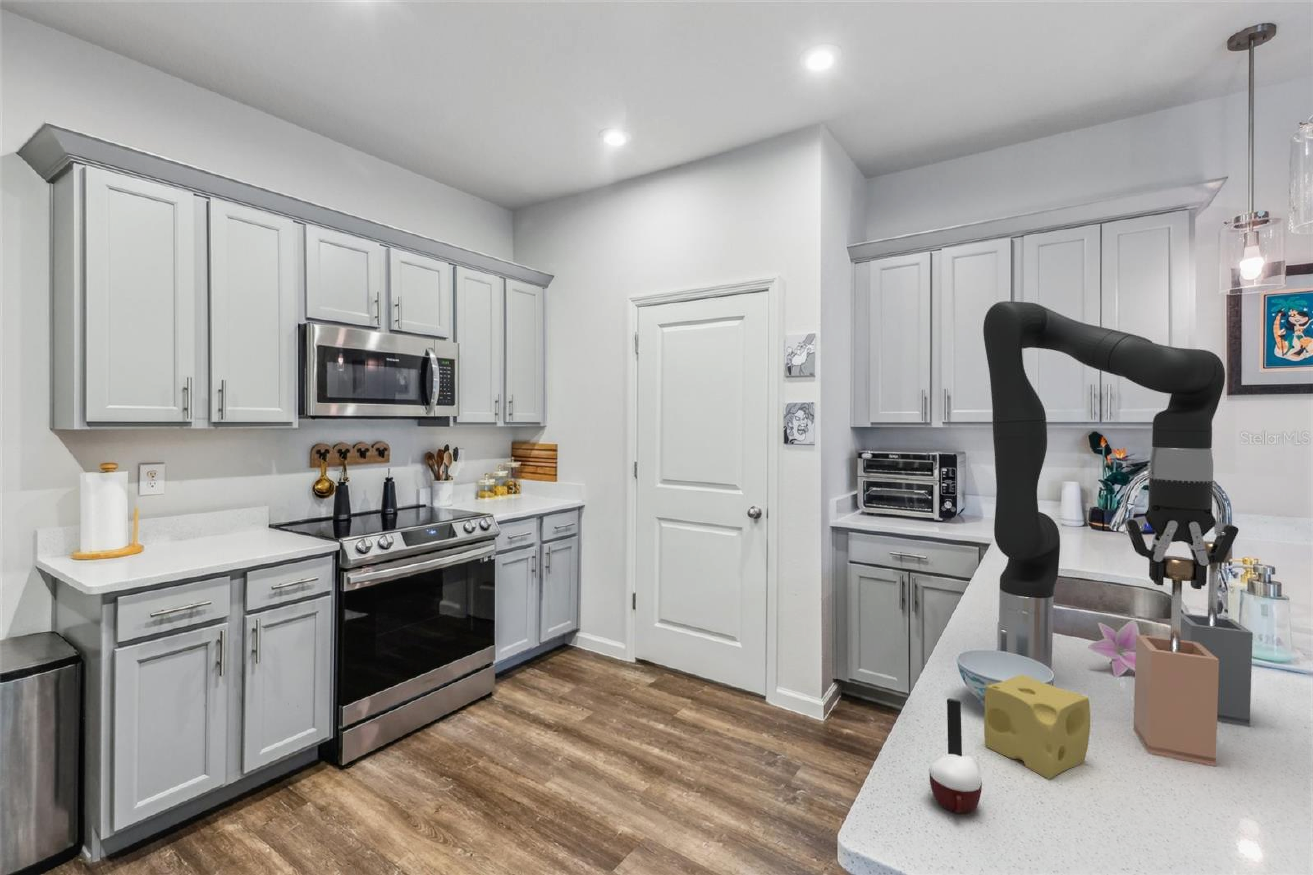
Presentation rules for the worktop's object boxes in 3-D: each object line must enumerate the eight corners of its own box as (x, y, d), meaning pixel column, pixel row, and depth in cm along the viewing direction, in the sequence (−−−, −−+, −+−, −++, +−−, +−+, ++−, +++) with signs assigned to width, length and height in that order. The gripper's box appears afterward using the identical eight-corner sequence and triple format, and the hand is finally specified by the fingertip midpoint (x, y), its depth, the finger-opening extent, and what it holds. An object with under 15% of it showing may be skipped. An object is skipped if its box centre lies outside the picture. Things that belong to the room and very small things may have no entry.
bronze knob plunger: (1159, 664, 93) (1162, 560, 92) (1148, 653, 98) (1151, 553, 97) (1202, 671, 91) (1205, 563, 90) (1189, 658, 95) (1192, 557, 95)
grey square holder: (1188, 716, 104) (1191, 625, 104) (1172, 697, 112) (1175, 612, 111) (1249, 726, 101) (1252, 632, 101) (1229, 706, 108) (1232, 618, 108)
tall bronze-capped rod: (1198, 637, 105) (1201, 544, 104) (1187, 628, 109) (1190, 539, 109) (1237, 642, 102) (1240, 547, 102) (1224, 632, 107) (1227, 542, 107)
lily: (1075, 672, 125) (1093, 641, 120) (1082, 637, 133) (1100, 606, 128) (1145, 704, 119) (1167, 672, 114) (1148, 665, 127) (1169, 634, 122)
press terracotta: (1148, 753, 93) (1150, 650, 92) (1133, 729, 100) (1136, 634, 99) (1215, 766, 89) (1218, 660, 89) (1195, 740, 96) (1198, 642, 96)
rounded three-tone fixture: (969, 833, 75) (973, 741, 74) (917, 808, 79) (921, 721, 78) (991, 796, 82) (995, 712, 81) (943, 775, 86) (946, 695, 85)
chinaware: (937, 697, 111) (938, 656, 111) (993, 684, 117) (994, 644, 117) (1013, 736, 97) (1014, 689, 97) (1072, 719, 103) (1074, 674, 103)
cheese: (1050, 781, 85) (1052, 712, 85) (979, 745, 95) (980, 682, 94) (1090, 763, 90) (1092, 697, 90) (1019, 730, 100) (1020, 670, 99)
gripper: (1130, 476, 93) (1127, 586, 94) (1252, 481, 87) (1248, 598, 87) (1117, 473, 100) (1115, 575, 100) (1229, 477, 94) (1226, 586, 94)
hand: (1177, 585), depth 94 cm, fingers closed on bronze knob plunger, 4 cm apart
